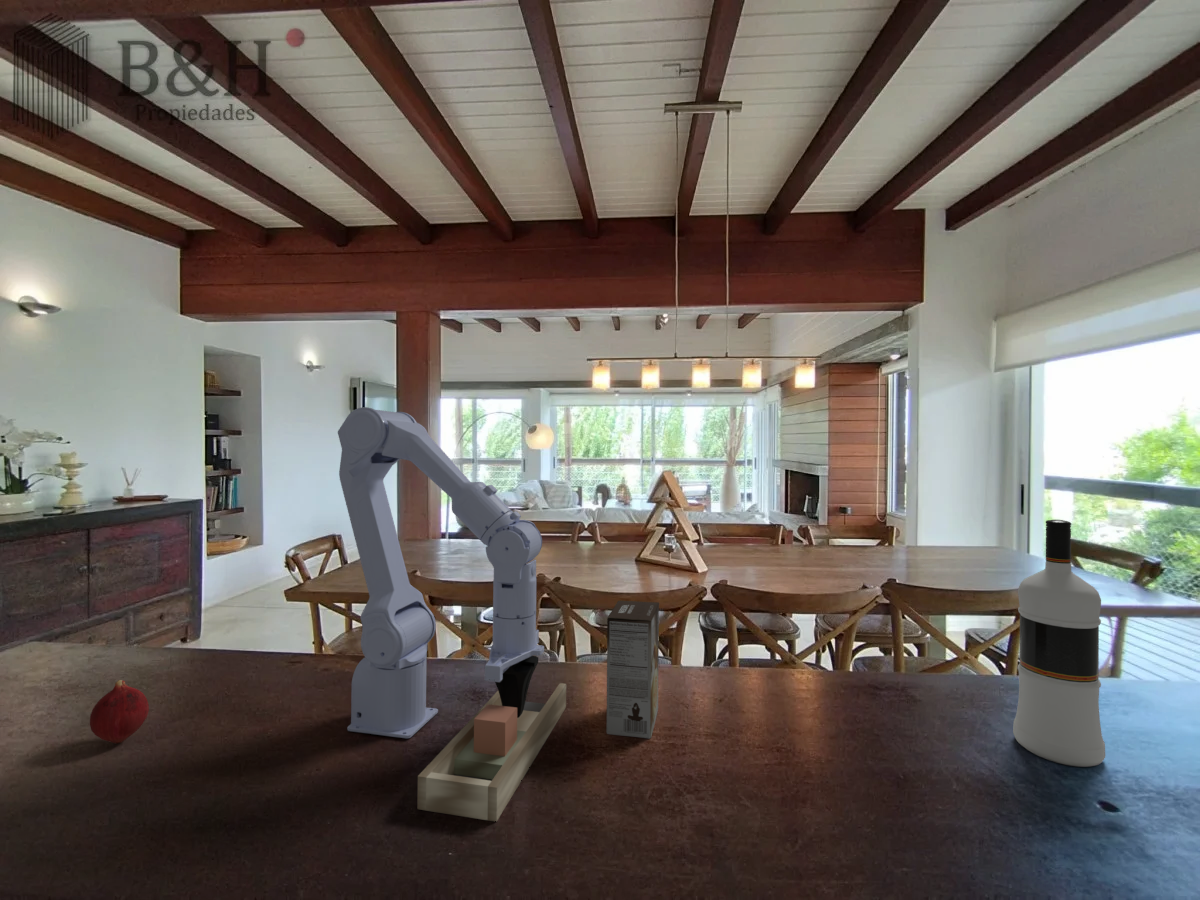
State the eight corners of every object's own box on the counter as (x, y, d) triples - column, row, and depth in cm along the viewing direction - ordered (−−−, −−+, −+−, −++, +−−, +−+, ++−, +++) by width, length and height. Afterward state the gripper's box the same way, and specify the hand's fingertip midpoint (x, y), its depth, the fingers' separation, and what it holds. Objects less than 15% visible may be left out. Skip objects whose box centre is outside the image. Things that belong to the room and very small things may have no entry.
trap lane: (417, 809, 59) (417, 776, 59) (509, 701, 85) (509, 678, 85) (496, 821, 57) (496, 787, 57) (566, 707, 83) (566, 683, 83)
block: (473, 752, 67) (474, 718, 67) (487, 735, 71) (487, 704, 71) (505, 756, 66) (505, 722, 66) (516, 739, 70) (517, 707, 70)
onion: (157, 737, 73) (158, 676, 73) (104, 759, 68) (105, 693, 68) (133, 727, 76) (134, 669, 76) (79, 748, 71) (80, 685, 71)
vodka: (996, 737, 75) (997, 516, 76) (1045, 728, 78) (1046, 515, 78) (1071, 775, 67) (1072, 525, 67) (1124, 764, 69) (1125, 523, 69)
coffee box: (616, 705, 84) (617, 598, 84) (659, 709, 83) (660, 601, 83) (605, 735, 75) (606, 616, 75) (652, 740, 74) (653, 619, 74)
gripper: (523, 632, 66) (522, 746, 66) (559, 600, 81) (558, 694, 81) (469, 627, 68) (468, 738, 68) (513, 597, 82) (512, 689, 82)
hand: (513, 714), depth 74 cm, fingers closed
